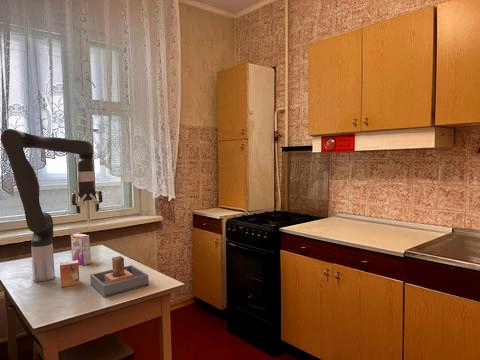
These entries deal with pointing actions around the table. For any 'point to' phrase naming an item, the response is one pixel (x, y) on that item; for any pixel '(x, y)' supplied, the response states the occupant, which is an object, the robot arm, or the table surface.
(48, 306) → the table surface
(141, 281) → the walled bin
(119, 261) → the walnut peg
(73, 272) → the small box
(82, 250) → the candy bar box
